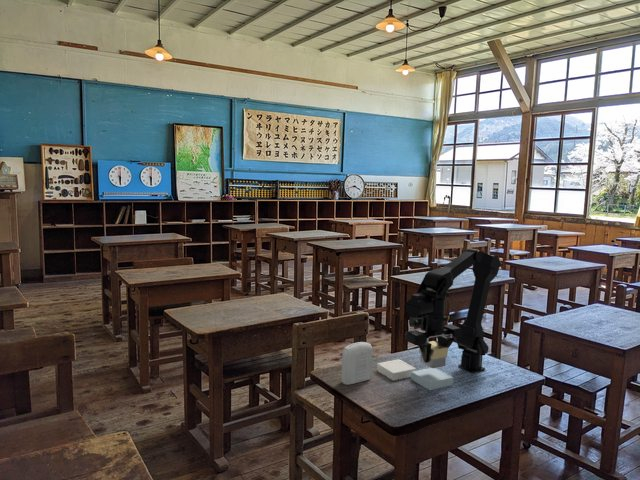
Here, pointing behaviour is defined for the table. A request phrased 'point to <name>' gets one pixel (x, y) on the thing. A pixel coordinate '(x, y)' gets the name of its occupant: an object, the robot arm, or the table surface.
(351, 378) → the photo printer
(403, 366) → the stand
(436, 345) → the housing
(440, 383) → the stand
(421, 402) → the table surface
